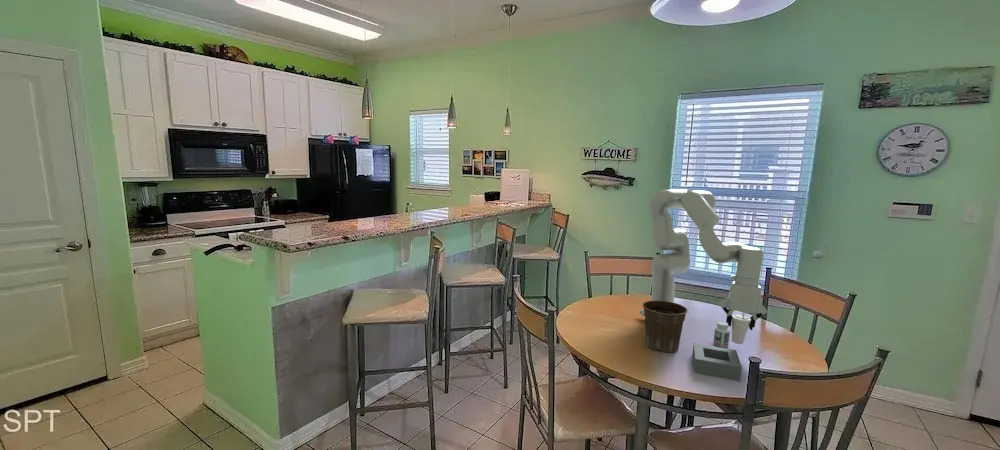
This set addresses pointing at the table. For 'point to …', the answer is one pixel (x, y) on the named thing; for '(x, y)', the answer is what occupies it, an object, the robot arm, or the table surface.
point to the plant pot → (663, 324)
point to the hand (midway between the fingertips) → (739, 326)
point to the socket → (716, 362)
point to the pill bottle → (721, 334)
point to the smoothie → (739, 327)
